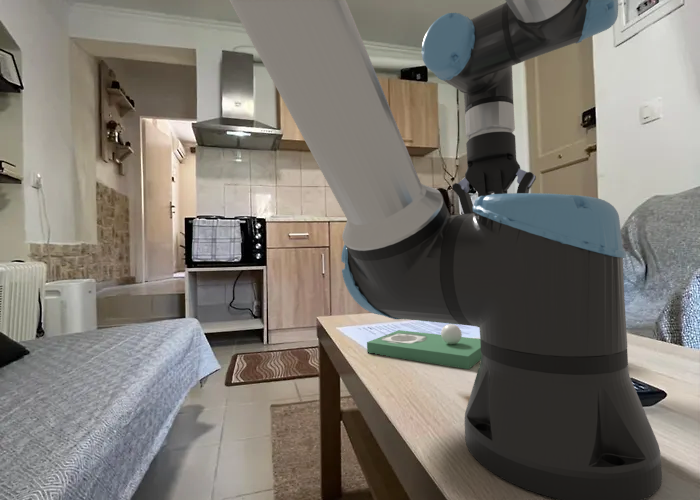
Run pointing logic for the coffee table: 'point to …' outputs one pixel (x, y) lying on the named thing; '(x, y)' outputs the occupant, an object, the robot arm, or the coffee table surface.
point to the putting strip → (427, 348)
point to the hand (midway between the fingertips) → (496, 280)
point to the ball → (451, 334)
